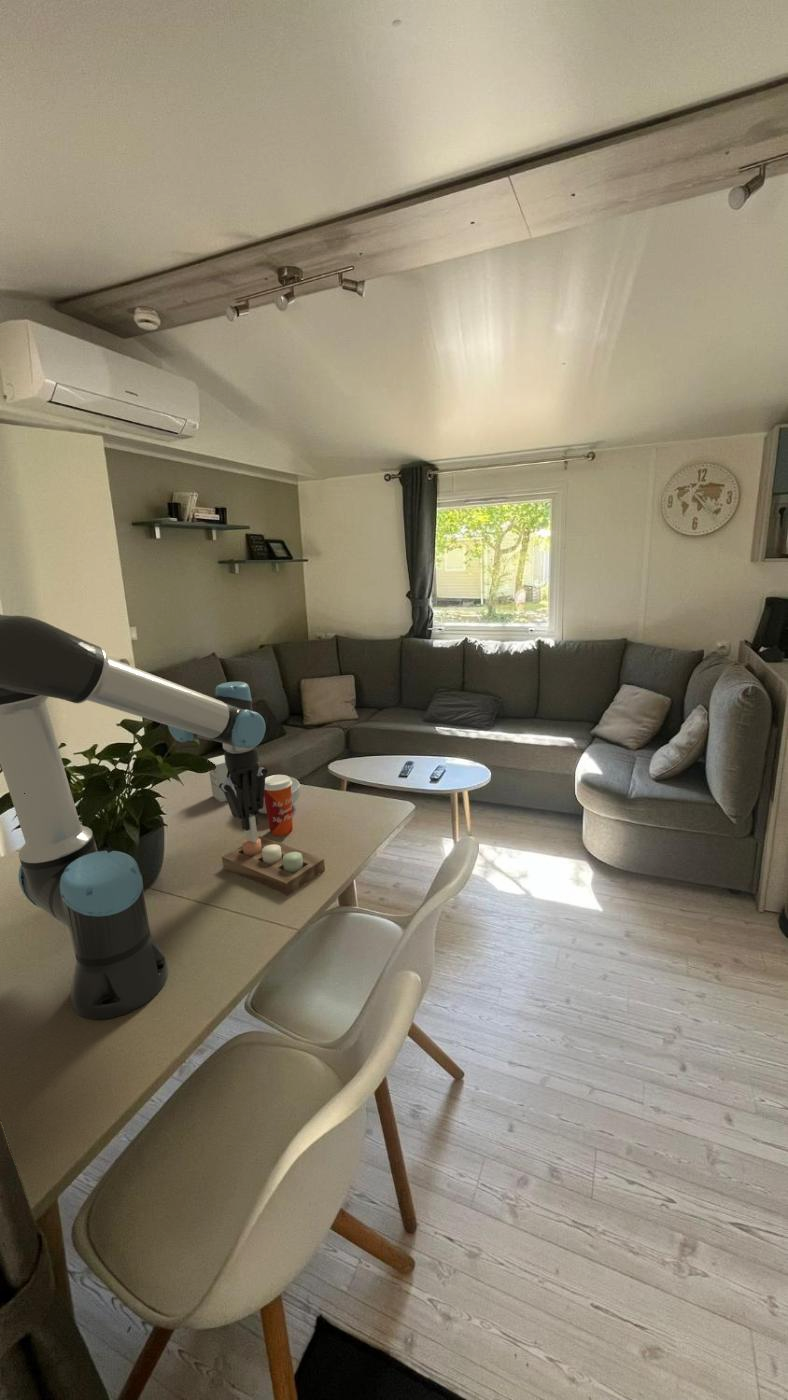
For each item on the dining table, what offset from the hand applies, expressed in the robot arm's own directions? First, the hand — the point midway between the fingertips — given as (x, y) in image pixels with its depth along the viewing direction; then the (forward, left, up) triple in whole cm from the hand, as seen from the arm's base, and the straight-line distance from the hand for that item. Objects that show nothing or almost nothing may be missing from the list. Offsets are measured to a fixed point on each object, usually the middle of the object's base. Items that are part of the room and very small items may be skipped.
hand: (251, 839), depth 137 cm
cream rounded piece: (0, -7, -4) cm, 8 cm away
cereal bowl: (+24, +19, -6) cm, 31 cm away
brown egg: (0, 0, -4) cm, 4 cm away
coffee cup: (+15, +6, -6) cm, 17 cm away
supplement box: (+23, +39, -6) cm, 46 cm away
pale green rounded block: (0, -14, -4) cm, 15 cm away
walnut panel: (0, -7, -6) cm, 9 cm away
